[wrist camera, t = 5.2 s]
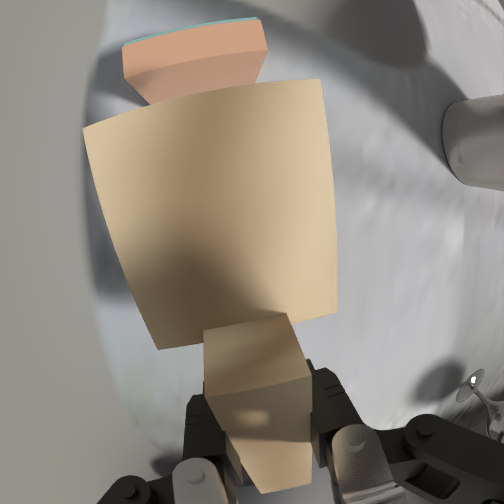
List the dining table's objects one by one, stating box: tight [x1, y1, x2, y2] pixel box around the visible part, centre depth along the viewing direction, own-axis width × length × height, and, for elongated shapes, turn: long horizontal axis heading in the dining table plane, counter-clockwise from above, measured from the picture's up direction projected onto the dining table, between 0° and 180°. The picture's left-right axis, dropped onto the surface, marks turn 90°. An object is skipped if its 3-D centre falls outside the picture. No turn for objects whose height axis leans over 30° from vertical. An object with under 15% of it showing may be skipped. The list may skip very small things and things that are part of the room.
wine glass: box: [456, 369, 504, 443], centre depth 25 cm, size 8×8×15 cm
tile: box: [122, 17, 268, 105], centre depth 14 cm, size 7×2×8 cm, turn 100°
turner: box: [82, 79, 338, 494], centre depth 8 cm, size 6×16×4 cm, turn 10°
